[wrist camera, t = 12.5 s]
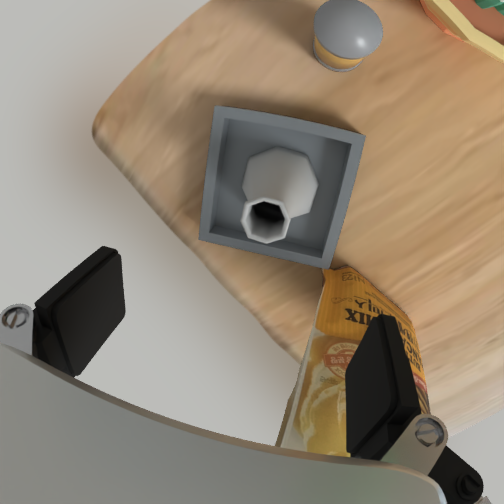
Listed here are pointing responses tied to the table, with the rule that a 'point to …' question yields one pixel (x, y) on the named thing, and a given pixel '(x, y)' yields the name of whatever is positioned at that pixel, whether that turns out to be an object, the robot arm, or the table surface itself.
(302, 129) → the tray
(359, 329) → the pancake mix bag
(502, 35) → the potted cactus
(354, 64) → the fuse
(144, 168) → the table surface
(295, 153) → the flask
